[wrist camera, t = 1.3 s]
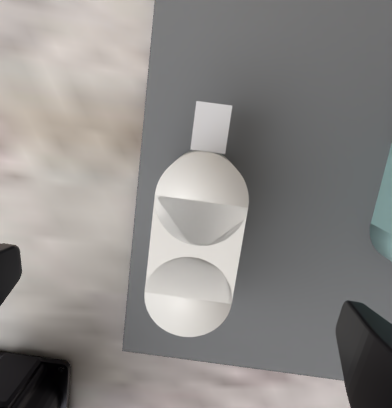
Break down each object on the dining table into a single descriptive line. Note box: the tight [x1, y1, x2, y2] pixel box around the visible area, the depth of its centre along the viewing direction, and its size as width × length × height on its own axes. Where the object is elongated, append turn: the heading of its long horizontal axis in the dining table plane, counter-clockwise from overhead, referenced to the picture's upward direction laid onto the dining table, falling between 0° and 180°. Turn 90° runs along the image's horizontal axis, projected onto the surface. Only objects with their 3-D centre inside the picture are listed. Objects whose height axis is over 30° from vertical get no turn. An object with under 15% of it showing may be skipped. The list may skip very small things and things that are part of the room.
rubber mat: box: [122, 0, 392, 381], centre depth 20 cm, size 24×20×1 cm
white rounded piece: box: [144, 101, 249, 337], centre depth 18 cm, size 12×4×5 cm, turn 172°
